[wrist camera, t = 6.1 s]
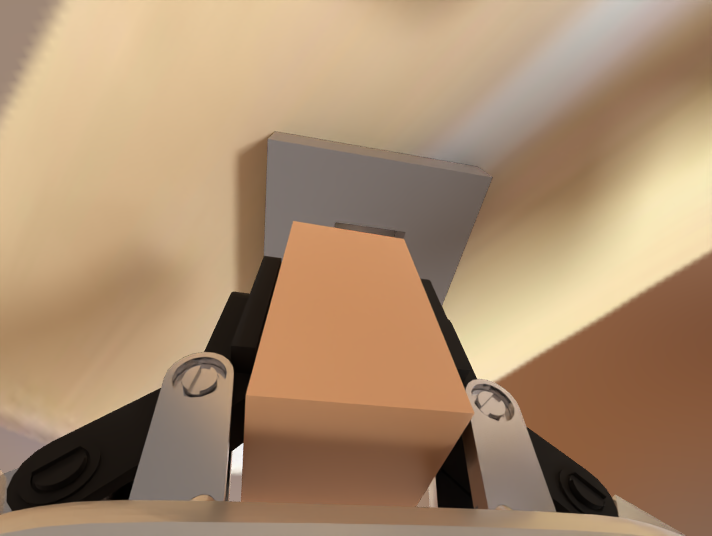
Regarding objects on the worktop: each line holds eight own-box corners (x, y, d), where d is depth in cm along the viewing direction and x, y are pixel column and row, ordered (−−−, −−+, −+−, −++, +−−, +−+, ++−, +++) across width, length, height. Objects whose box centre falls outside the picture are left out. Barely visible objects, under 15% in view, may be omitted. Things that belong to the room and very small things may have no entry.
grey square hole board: (477, 166, 26) (492, 177, 24) (422, 318, 34) (429, 338, 32) (274, 131, 24) (267, 138, 21) (267, 302, 32) (261, 323, 29)
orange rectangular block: (404, 238, 12) (474, 412, 6) (378, 321, 14) (410, 514, 8) (293, 220, 11) (245, 395, 5) (283, 310, 13) (240, 509, 7)
